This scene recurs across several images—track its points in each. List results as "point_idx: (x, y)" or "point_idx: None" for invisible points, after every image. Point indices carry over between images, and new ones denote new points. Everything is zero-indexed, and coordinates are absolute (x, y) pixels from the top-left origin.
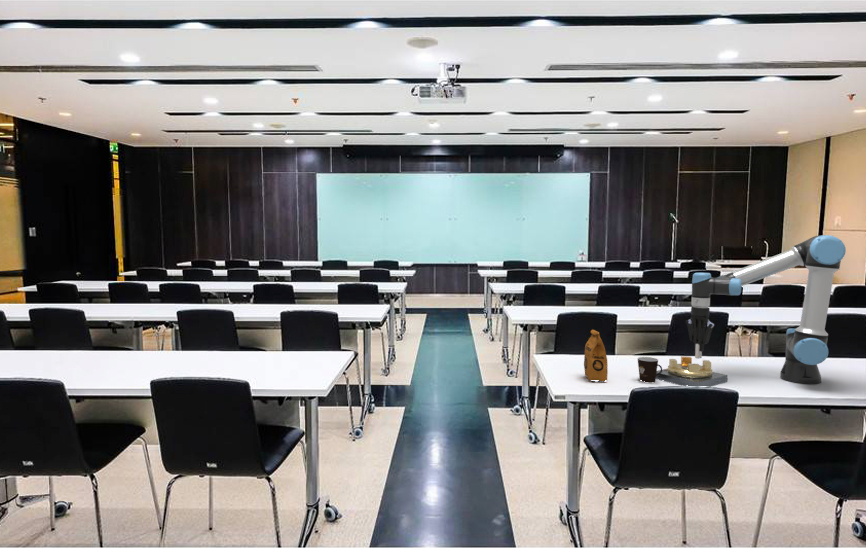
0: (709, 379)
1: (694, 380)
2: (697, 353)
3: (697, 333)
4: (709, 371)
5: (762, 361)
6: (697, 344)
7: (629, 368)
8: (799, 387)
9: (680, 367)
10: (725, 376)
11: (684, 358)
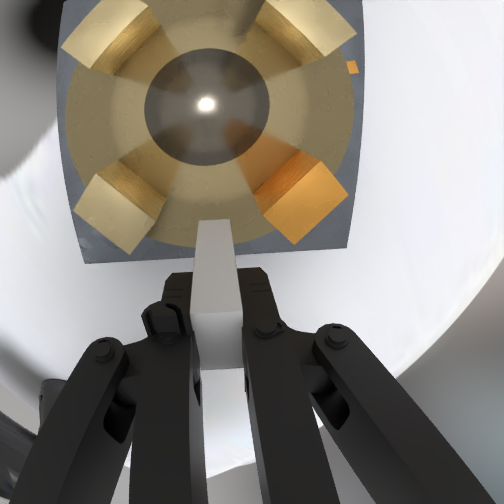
0: (58, 96)
1: (93, 5)
2: (206, 242)
3: (265, 489)
4: (79, 152)
5: (237, 450)
6: (211, 312)
7: (473, 107)
8: (17, 349)
9: (264, 73)
10: (81, 243)
11: (304, 171)
